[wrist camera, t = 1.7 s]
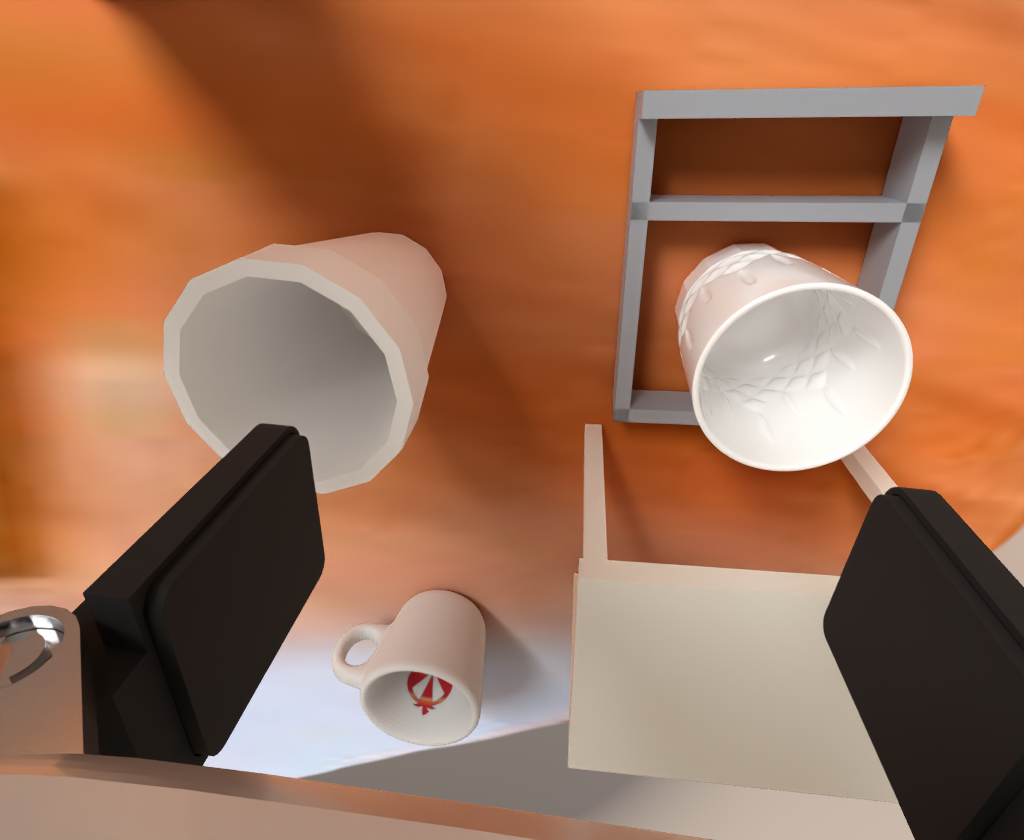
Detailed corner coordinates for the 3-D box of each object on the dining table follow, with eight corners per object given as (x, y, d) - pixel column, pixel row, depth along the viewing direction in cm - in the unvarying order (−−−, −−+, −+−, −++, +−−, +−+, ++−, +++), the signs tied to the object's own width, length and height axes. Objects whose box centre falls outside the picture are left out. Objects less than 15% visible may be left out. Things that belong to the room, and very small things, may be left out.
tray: (636, 92, 27) (643, 90, 23) (930, 88, 25) (985, 85, 22) (612, 401, 34) (615, 434, 31) (838, 410, 33) (867, 446, 29)
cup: (359, 636, 47) (319, 729, 40) (357, 561, 43) (312, 650, 36) (492, 658, 46) (475, 756, 39) (501, 584, 42) (484, 679, 35)
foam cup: (288, 213, 31) (118, 274, 20) (455, 188, 30) (372, 240, 18) (338, 374, 36) (221, 499, 24) (485, 360, 34) (434, 487, 23)
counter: (581, 423, 35) (578, 577, 24) (860, 436, 34) (1002, 608, 22) (573, 583, 42) (567, 767, 30) (808, 600, 40) (898, 803, 28)
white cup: (852, 268, 29) (963, 337, 21) (761, 395, 33) (824, 498, 24) (713, 203, 29) (768, 246, 20) (637, 340, 33) (655, 427, 24)
